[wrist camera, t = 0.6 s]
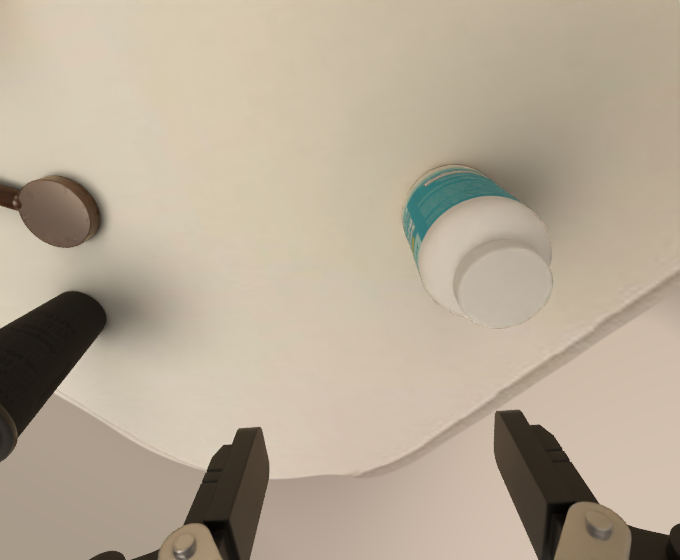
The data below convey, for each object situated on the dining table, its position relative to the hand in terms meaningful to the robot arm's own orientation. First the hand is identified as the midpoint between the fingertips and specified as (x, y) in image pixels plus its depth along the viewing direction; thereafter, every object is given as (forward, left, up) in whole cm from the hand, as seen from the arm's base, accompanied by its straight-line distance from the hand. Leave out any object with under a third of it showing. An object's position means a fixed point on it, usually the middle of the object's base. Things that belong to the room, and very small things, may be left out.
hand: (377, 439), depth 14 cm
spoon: (+6, -31, -21) cm, 38 cm away
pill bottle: (-4, +6, -22) cm, 23 cm away
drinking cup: (+16, -22, -22) cm, 35 cm away
